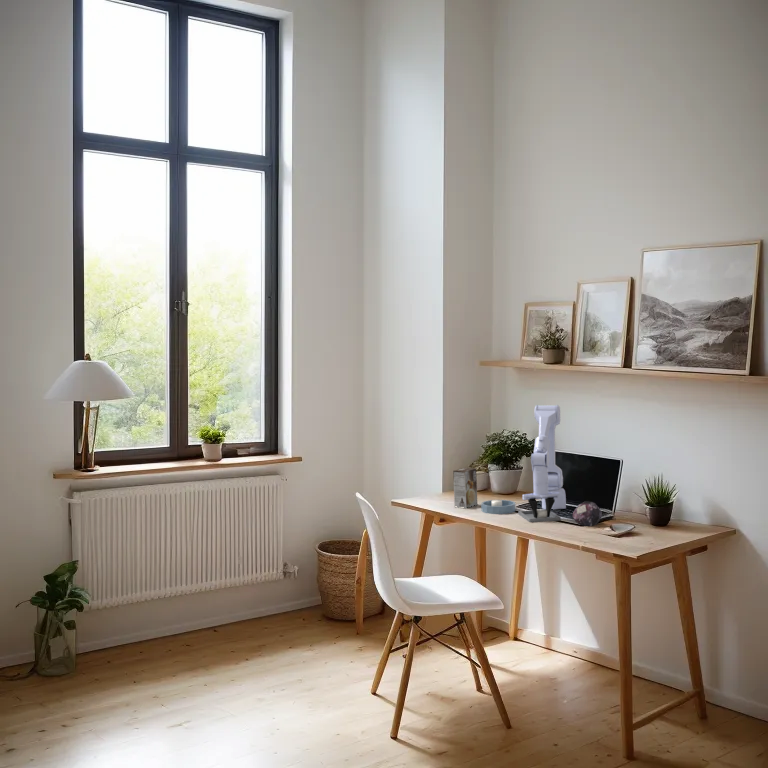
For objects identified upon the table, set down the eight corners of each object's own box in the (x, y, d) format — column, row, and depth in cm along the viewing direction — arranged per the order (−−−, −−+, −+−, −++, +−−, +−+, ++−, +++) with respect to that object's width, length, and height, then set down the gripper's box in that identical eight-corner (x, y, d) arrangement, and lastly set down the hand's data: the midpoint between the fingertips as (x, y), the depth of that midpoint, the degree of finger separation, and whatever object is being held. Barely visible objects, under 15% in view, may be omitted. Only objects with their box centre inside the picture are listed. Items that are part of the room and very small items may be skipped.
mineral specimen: (565, 520, 332) (574, 495, 333) (589, 528, 334) (598, 504, 335) (576, 524, 323) (585, 499, 323) (600, 533, 325) (609, 508, 325)
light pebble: (500, 507, 364) (499, 499, 363) (503, 509, 359) (503, 501, 359) (490, 508, 363) (489, 500, 362) (493, 510, 358) (493, 502, 358)
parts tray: (548, 514, 352) (548, 509, 351) (560, 522, 336) (560, 517, 336) (518, 516, 350) (518, 511, 350) (529, 524, 335) (529, 519, 335)
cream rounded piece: (545, 517, 342) (545, 508, 342) (548, 519, 338) (548, 511, 338) (534, 518, 342) (534, 509, 342) (537, 520, 337) (537, 511, 337)
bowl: (510, 508, 366) (510, 499, 366) (519, 515, 353) (519, 505, 352) (478, 510, 365) (478, 501, 364) (486, 517, 351) (486, 507, 351)
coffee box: (465, 503, 380) (464, 467, 379) (477, 505, 376) (476, 468, 375) (454, 507, 373) (452, 470, 372) (466, 508, 369) (465, 471, 368)
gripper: (525, 485, 334) (526, 520, 335) (562, 483, 336) (562, 518, 337) (520, 482, 341) (521, 516, 342) (556, 480, 343) (557, 514, 344)
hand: (541, 517), depth 340 cm, fingers closed on cream rounded piece, 4 cm apart
